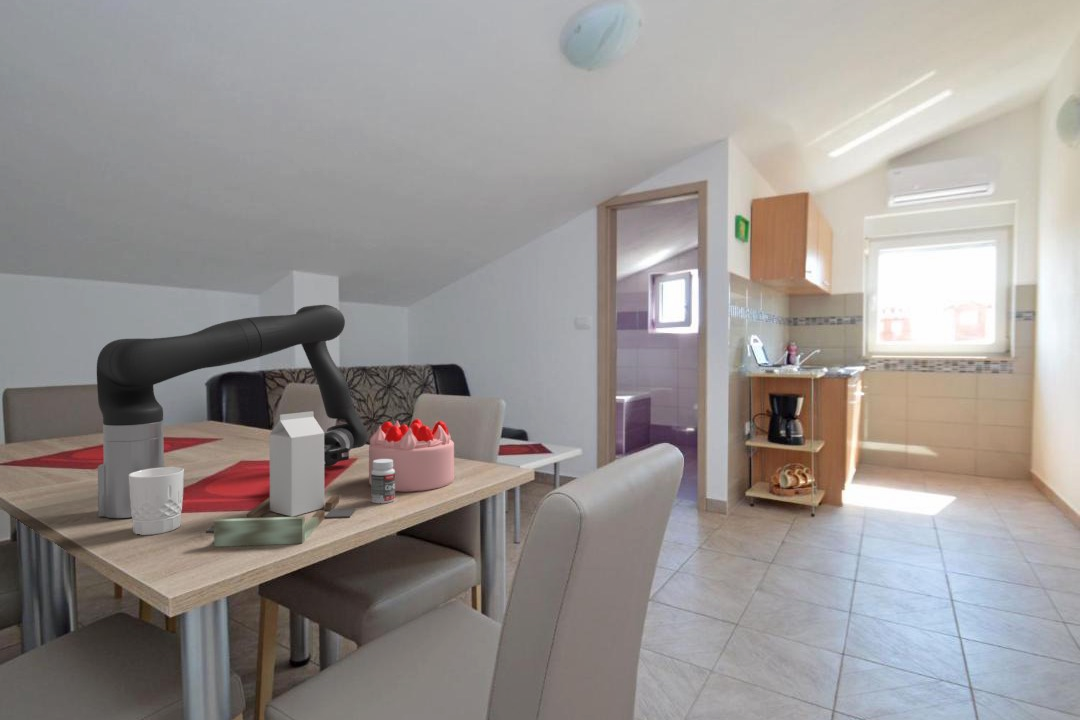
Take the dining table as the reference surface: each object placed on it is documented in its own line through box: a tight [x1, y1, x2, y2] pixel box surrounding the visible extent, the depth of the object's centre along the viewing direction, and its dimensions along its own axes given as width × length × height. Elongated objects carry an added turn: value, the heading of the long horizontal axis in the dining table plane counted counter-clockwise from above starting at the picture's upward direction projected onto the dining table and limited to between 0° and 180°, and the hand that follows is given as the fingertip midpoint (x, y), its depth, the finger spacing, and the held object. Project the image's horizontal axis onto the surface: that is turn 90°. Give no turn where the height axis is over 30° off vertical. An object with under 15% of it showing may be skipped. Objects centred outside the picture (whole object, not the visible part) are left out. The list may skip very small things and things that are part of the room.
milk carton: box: [269, 410, 325, 517], centre depth 105 cm, size 7×7×19 cm
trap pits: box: [205, 507, 356, 534], centre depth 99 cm, size 25×6×1 cm, turn 115°
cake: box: [368, 418, 455, 493], centre depth 129 cm, size 20×20×14 cm
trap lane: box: [213, 494, 340, 547], centre depth 98 cm, size 13×24×4 cm, turn 7°
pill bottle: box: [370, 459, 396, 504], centre depth 112 cm, size 5×5×8 cm
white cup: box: [129, 466, 185, 536], centre depth 94 cm, size 8×8×10 cm
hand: (308, 462), depth 113 cm, fingers closed
